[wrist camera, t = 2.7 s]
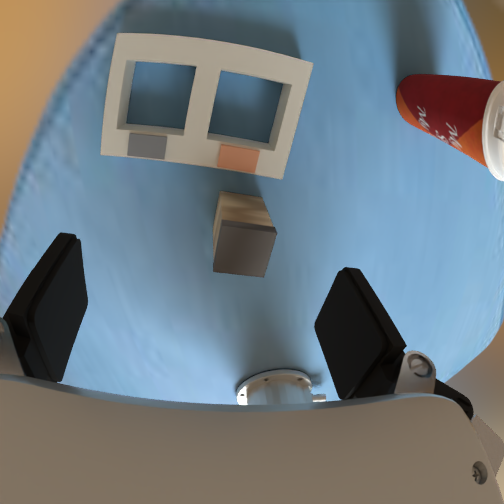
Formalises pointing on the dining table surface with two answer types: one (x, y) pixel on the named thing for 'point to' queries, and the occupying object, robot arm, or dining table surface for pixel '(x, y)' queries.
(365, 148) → the dining table surface
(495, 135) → the paper cup
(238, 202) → the plug
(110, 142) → the socket block
